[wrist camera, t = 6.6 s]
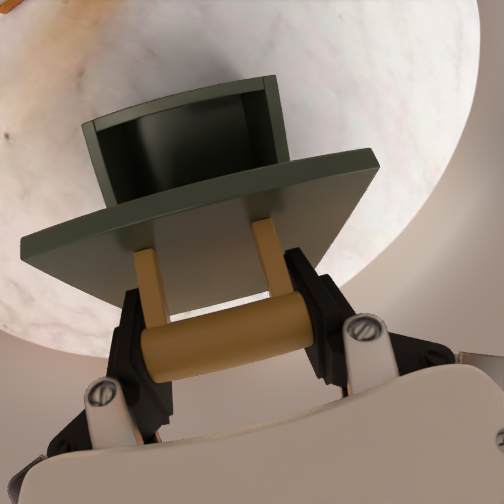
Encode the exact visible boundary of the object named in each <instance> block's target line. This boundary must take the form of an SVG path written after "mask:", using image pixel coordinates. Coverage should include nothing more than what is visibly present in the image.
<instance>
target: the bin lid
mask: <svg viewBox="0 0 504 504" xmlns="http://www.w3.org/2000/svg"><path fill="white" fill-rule="evenodd" d="M379 168H380V165H379V163H378V161H377V159H376V157H375V155H374V153H373V151H372V149H371V148H364V149H357V150H351V151H345V152H339V153H333V154H327V155H321V156H316V157H310V158H305V159H300V160H295V161H290V162H285V163H280V164H275V165H270V166H265V167H261V168H256V169H252V170H247V171H243V172H238V173H234V174H230V175H225V176H221V177H217V178H213V179H209V180H205V181H201V182H197V183H193V184H189V185H185V186H182V187H178V188H174V189H170V190H167V191H163V192H159V193H156V194H152V195H149V196H145V197H142V198H138V199H135V200H132V201H128V202H125V203H122V204H118V205H115V206H112V207H109V208H106V209H102V210H99V211H96V212H93V213H90V214H87V215H84V216H81V217H78V218H75V219H72V220H69V221H66V222H63V223H60V224H57V225H55V226H52V227H49V228H46V229H43V230H41V231H38V232H35V233H33V234H30V235H27V236H25V237H22V238H21V241H20V258H21V260H22V261H24V262H26V263H28V264H29V265H31V266H33V267H35V268H37V269H39V270H41V271H43V272H45V273H47V274H49V275H51V276H53V277H55V278H57V279H59V280H61V281H63V282H65V283H67V284H69V285H71V286H73V287H75V288H77V289H79V290H81V291H83V292H86V293H88V294H90V295H92V296H94V297H96V298H99V299H101V300H103V301H105V302H107V303H110V304H112V305H114V306H117V307H119V308H121V309H122V308H123V303H124V298H125V293H126V291H127V290H131V289H135V288H139V292H140V298H141V303H142V309H143V314H144V319H145V324H146V328H145V329H144V330H143V331H142V333H141V339H140V343H141V352H142V357H143V361H144V364H145V367H146V369H147V372H148V373H149V375H150V377H151V379H152V380H153V381H154V382H156V383H164V382H169V381H174V380H179V379H184V378H189V377H194V376H199V375H203V374H208V373H212V372H216V371H221V370H225V369H229V368H233V367H237V366H241V365H245V364H249V363H253V362H257V361H260V360H264V359H267V358H271V357H275V356H278V355H282V354H285V353H289V352H292V351H295V350H299V349H302V348H306V347H309V346H311V345H312V344H313V343H314V330H313V324H312V320H311V316H310V313H309V310H308V307H307V304H306V302H305V300H304V298H303V296H302V295H301V293H300V292H299V291H294V289H293V286H292V283H291V279H290V276H289V273H288V270H287V266H286V263H285V260H284V257H283V255H284V254H285V250H289V249H292V248H296V247H299V248H300V249H301V250H302V252H303V253H304V255H305V256H306V258H307V259H308V261H309V262H310V264H311V265H312V267H313V268H314V269H315V268H316V267H317V265H318V264H319V262H320V261H321V259H322V258H323V256H324V255H325V253H326V252H327V250H328V249H329V247H330V246H331V244H332V243H333V241H334V240H335V238H336V237H337V235H338V233H339V232H340V230H341V229H342V227H343V226H344V224H345V223H346V221H347V220H348V218H349V216H350V215H351V213H352V212H353V210H354V209H355V207H356V205H357V204H358V202H359V201H360V199H361V198H362V196H363V194H364V193H365V191H366V190H367V188H368V186H369V185H370V183H371V181H372V180H373V178H374V177H375V175H376V173H377V172H378V170H379ZM266 291H269V295H270V298H266V299H263V300H259V301H255V302H251V303H247V304H244V305H240V306H236V307H232V308H228V309H224V310H220V311H216V312H212V313H208V314H204V315H200V316H196V317H192V318H188V319H183V320H179V321H175V322H171V321H170V316H171V315H175V314H179V313H183V312H187V311H191V310H196V309H200V308H204V307H208V306H212V305H216V304H220V303H224V302H228V301H231V300H235V299H239V298H243V297H247V296H251V295H255V294H258V293H262V292H266Z"/></svg>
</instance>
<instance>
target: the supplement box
mask: <svg viewBox="0 0 504 504" xmlns="http://www.w3.org/2000/svg"><path fill="white" fill-rule="evenodd" d="M21 1H23V0H0V13H3V14H5V13H7V12H8V11H9V10H11V9H12V8H13V7H15V6H16V5H17V4H19V3H20V2H21Z"/></svg>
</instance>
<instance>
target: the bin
mask: <svg viewBox="0 0 504 504" xmlns="http://www.w3.org/2000/svg"><path fill="white" fill-rule="evenodd" d="M82 129H83V133H84V137H85V140H86V144H87V147H88V151H89V154H90V157H91V161H92V164H93V167H94V171H95V174H96V177H97V180H98V183H99V186H100V189H101V192H102V195H103V198H104V201H105V204H106V207H107V208H109V207H112V206H115V205H118V204H122V203H125V202H128V201H132V200H135V199H138V198H142V197H145V196H149V195H152V194H156V193H159V192H163V191H167V190H170V189H174V188H178V187H182V186H185V185H189V184H193V183H197V182H201V181H205V180H209V179H213V178H217V177H221V176H225V175H230V174H234V173H238V172H243V171H247V170H252V169H256V168H261V167H265V166H270V165H275V164H280V163H285V162H290V158H289V152H288V145H287V139H286V132H285V126H284V120H283V114H282V108H281V102H280V96H279V90H278V84H277V79H276V75H269V76H263V77H256V78H250V79H244V80H238V81H233V82H227V83H222V84H217V85H212V86H208V87H203V88H199V89H194V90H190V91H186V92H182V93H178V94H174V95H170V96H166V97H163V98H159V99H155V100H152V101H148V102H145V103H142V104H138V105H135V106H132V107H129V108H126V109H122V110H119V111H116V112H113V113H110V114H108V115H105V116H102V117H99V118H96V119H94V120H91V121H88V122H86V123H83V124H82Z"/></svg>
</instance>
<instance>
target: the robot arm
mask: <svg viewBox="0 0 504 504" xmlns="http://www.w3.org/2000/svg"><path fill="white" fill-rule="evenodd" d="M283 257H284V260H285V263H286V266H287V270H288V273H289V276H290V279H291V283H292V286H293V289H294V291H299V292H300V293H301V295H302V296H303V298H304V300H305V302H306V304H307V307H308V310H309V313H310V316H311V320H312V324H313V330H314V343H313V344H312V345H311V346H309V347H306V348H304V349H305V351H306V353H307V356H308V358H309V360H310V362H311V365H312V367H313V369H314V371H315V374H316V376H317V378H318V379H320V378H323V379H324V381H325V383H326V385H328V384H331V383H332V384H333V385H336V386H340V392H341V399H339V400H336V401H333V402H331V403H328V404H325V405H322V406H318V407H315V408H312V409H309V410H306V411H303V412H299V413H296V414H292V415H289V416H285V417H282V418H279V419H275V420H271V421H268V422H264V423H260V424H255V425H251V426H247V427H243V428H239V429H234V430H230V431H225V432H220V433H215V434H210V435H205V436H200V437H194V438H188V439H182V440H176V441H170V442H162V441H161V438H160V436H159V433H158V431H157V430H158V429H159V428H160V427H161V425H166V424H169V416H170V415H173V401H172V381H169V382H164V383H156V382H154V381H153V380H152V379H151V377H150V375H149V373H148V372H147V369H146V367H145V364H144V361H143V357H142V352H141V343H140V339H141V333H142V331H143V330H144V329H145V328H146V324H145V319H144V314H143V309H142V303H141V298H140V292H139V288H135V289H131V290H127V291H126V293H125V298H124V303H123V308H122V313H121V319H120V324H119V327H116V328H115V329H114V332H113V337H112V343H111V349H110V355H109V361H108V368H107V374H106V377H102V378H98V379H97V380H95V381H93V382H92V383H91V384H90V385H89V386H88V388H87V389H86V391H85V394H84V403H85V409H84V410H83V411H82V412H81V413H80V414H79V415H78V416H77V417H76V418H75V419H73V420H72V422H70V423H69V424H68V425H67V426H66V427H65V428H64V429H63V430H62V431H61V432H60V433H59V434H58V435H57V436H55V438H53V440H52V441H51V442H50V444H49V446H48V449H47V455H46V456H44V455H43V454H42V455H40V456H39V457H38V458H37V459H36V460H34V461H33V462H32V463H30V464H29V465H28V466H26V467H25V468H24V469H23V470H21V471H20V472H19V473H17V474H16V475H15V476H14V477H13V478H12V479H11V480H10V481H9V484H8V495H9V498H10V500H11V502H12V504H504V357H503V356H493V355H484V354H475V353H467V352H459V354H458V355H457V354H453V352H452V351H451V350H450V349H449V348H447V347H446V346H444V345H441V344H438V343H433V342H429V341H425V340H420V339H416V338H412V337H407V336H403V335H399V334H395V333H391V332H388V330H387V327H386V325H385V323H384V321H383V320H382V319H381V318H380V317H378V316H376V315H374V314H370V313H360V314H356V313H355V311H354V310H353V309H352V307H351V306H350V304H349V303H348V301H347V300H346V299H345V297H344V296H343V294H342V293H341V291H340V290H339V288H338V287H337V286H336V284H335V283H334V281H333V280H332V278H331V277H330V276H329V275H328V274H324V275H321V276H318V274H317V273H316V271H315V270H314V268H313V267H312V265H311V264H310V262H309V261H308V259H307V258H306V256H305V255H304V253H303V252H302V250H301V249H300V248H299V247H296V248H292V249H289V250H285V254H284V255H283Z"/></svg>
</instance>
